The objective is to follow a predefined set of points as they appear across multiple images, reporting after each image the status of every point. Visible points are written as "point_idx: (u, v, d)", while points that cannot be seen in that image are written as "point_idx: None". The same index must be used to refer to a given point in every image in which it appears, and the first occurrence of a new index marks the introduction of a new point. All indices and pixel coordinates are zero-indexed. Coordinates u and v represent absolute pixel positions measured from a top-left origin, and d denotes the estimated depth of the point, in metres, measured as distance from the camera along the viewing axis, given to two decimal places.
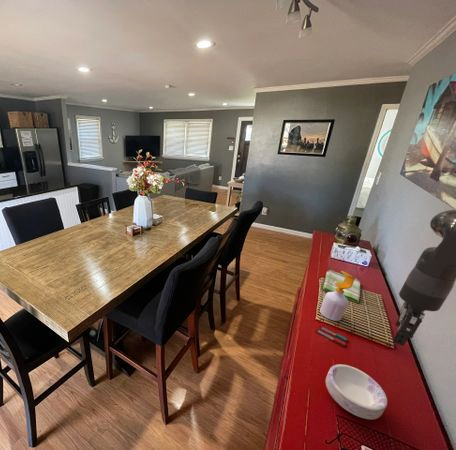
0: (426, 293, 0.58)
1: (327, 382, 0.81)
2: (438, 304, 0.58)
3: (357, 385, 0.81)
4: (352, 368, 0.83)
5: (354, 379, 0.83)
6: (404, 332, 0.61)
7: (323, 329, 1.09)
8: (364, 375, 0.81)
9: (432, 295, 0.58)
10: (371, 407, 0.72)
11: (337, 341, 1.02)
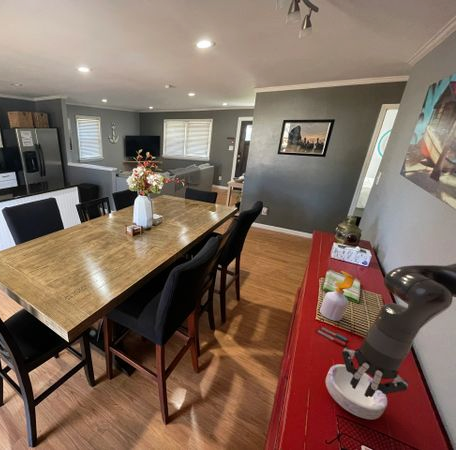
0: None
1: (327, 382, 0.81)
2: None
3: (357, 385, 0.81)
4: None
5: None
6: None
7: (323, 329, 1.09)
8: (364, 375, 0.81)
9: None
10: (371, 407, 0.72)
11: (337, 341, 1.02)
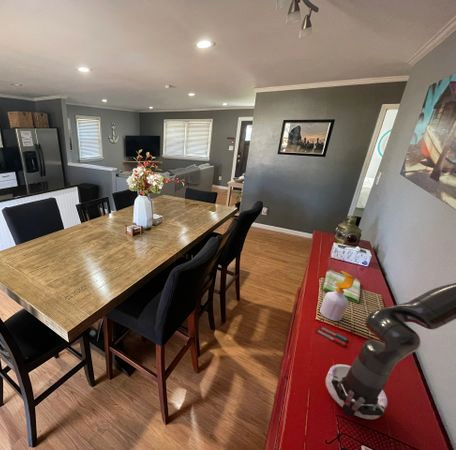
0: None
1: (327, 382, 0.81)
2: None
3: None
4: None
5: None
6: None
7: (323, 329, 1.09)
8: None
9: None
10: None
11: (337, 341, 1.02)
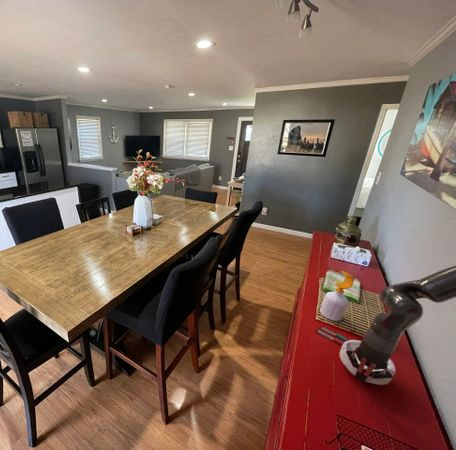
0: (394, 350, 0.75)
1: (341, 354, 0.92)
2: None
3: None
4: None
5: None
6: None
7: (323, 329, 1.09)
8: None
9: None
10: None
11: (337, 341, 1.02)
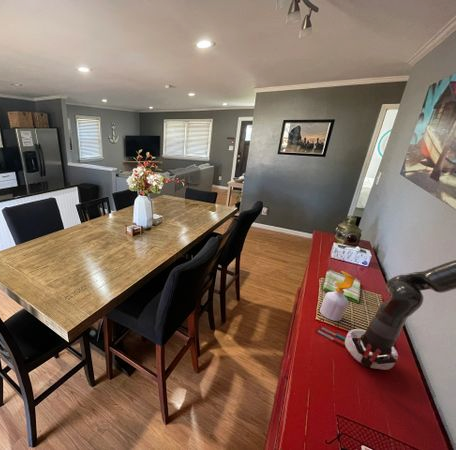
0: (397, 336, 0.80)
1: (346, 342, 0.97)
2: None
3: None
4: None
5: None
6: None
7: (323, 329, 1.09)
8: None
9: None
10: None
11: (337, 341, 1.02)
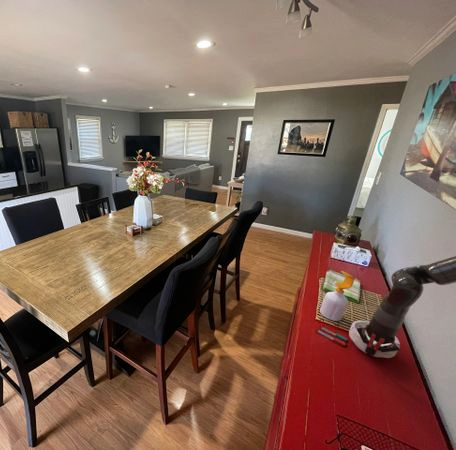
0: (400, 326, 0.85)
1: (351, 333, 1.01)
2: None
3: None
4: None
5: None
6: None
7: (323, 329, 1.09)
8: None
9: None
10: None
11: (337, 341, 1.02)
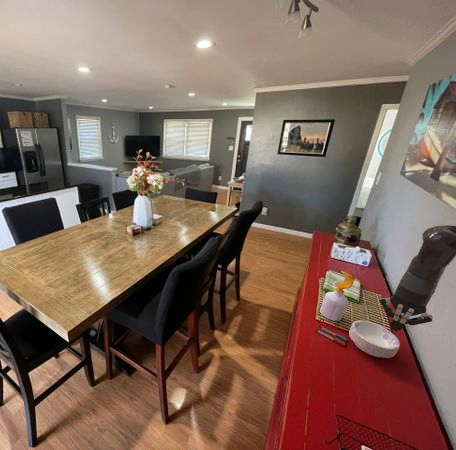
0: (433, 292, 0.73)
1: (351, 333, 1.01)
2: None
3: (374, 335, 1.02)
4: (370, 322, 1.04)
5: (372, 331, 1.03)
6: None
7: (323, 329, 1.09)
8: (380, 327, 1.02)
9: None
10: (388, 347, 0.92)
11: (337, 341, 1.02)
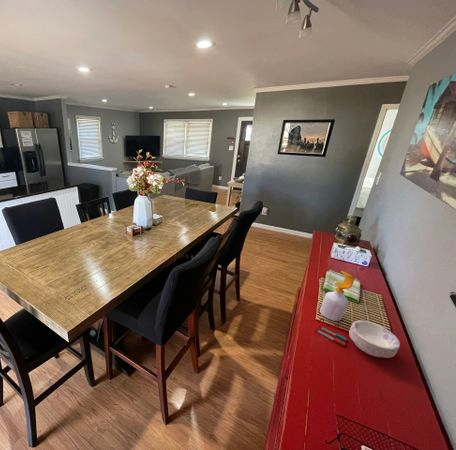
0: None
1: (351, 333, 1.01)
2: None
3: (374, 335, 1.02)
4: (370, 322, 1.04)
5: (372, 331, 1.03)
6: None
7: (323, 329, 1.09)
8: (380, 327, 1.02)
9: None
10: (388, 347, 0.92)
11: (337, 341, 1.02)
